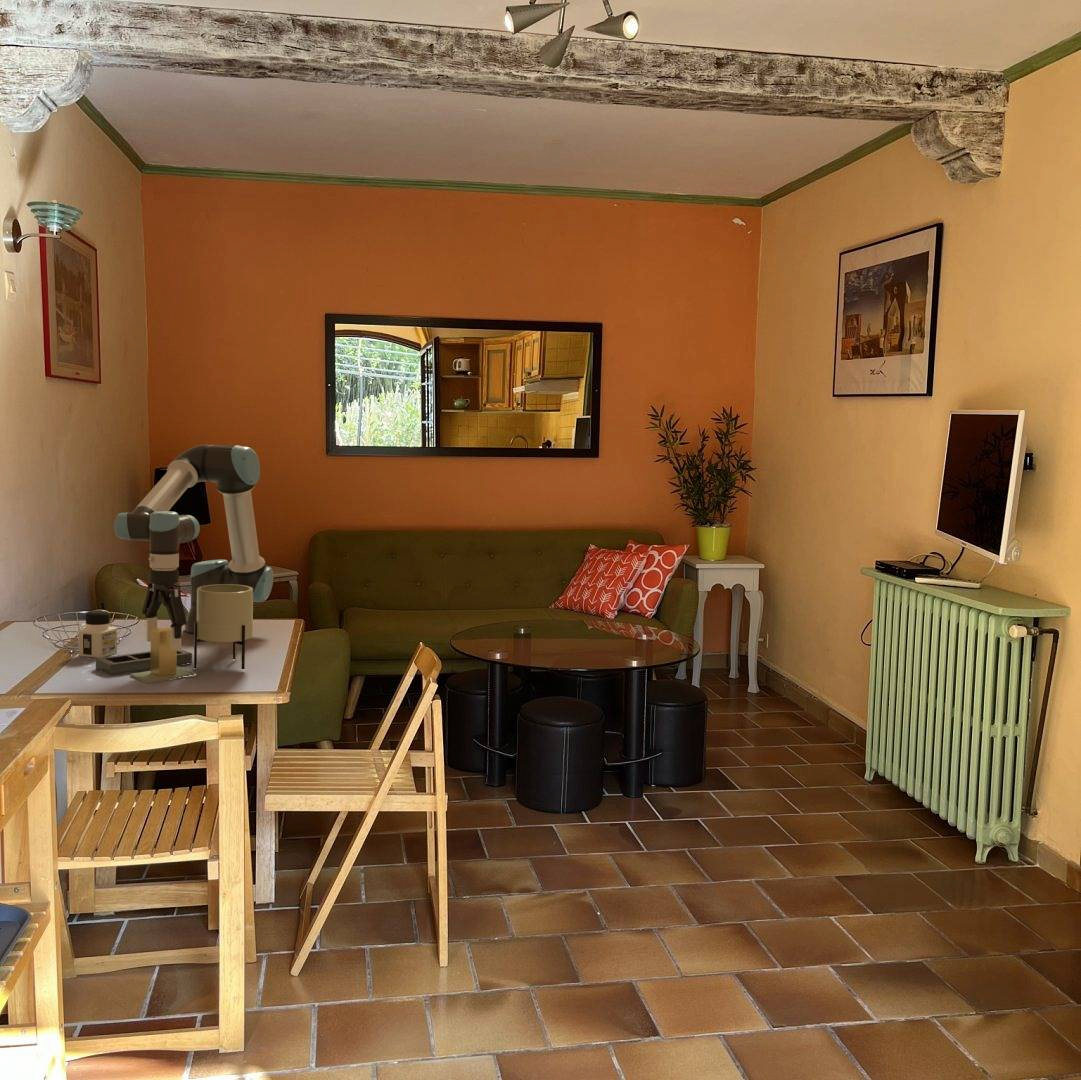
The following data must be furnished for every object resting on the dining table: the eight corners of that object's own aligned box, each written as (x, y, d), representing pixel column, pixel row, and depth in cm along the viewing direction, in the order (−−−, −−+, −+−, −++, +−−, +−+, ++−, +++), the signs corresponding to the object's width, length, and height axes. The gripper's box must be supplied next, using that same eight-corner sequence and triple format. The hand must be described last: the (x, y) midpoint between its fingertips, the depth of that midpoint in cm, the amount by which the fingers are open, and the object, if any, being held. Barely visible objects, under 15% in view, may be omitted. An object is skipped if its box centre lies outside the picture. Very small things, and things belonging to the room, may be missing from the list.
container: (101, 658, 306) (101, 614, 304) (78, 656, 307) (77, 612, 306) (117, 652, 313) (117, 609, 312) (94, 650, 315) (94, 607, 313)
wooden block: (167, 670, 293) (167, 626, 291) (176, 674, 290) (176, 629, 288) (150, 673, 289) (150, 628, 288) (159, 676, 286) (159, 631, 284)
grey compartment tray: (176, 657, 311) (176, 647, 310) (191, 663, 305) (191, 653, 304) (95, 669, 293) (95, 658, 293) (110, 675, 287) (110, 664, 287)
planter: (259, 662, 309) (261, 585, 307) (241, 675, 294) (242, 594, 291) (209, 659, 310) (209, 582, 308) (187, 672, 294) (188, 591, 292)
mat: (178, 668, 298) (178, 666, 298) (196, 675, 291) (196, 673, 291) (130, 675, 288) (130, 673, 288) (147, 683, 281) (147, 681, 281)
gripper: (129, 563, 292) (129, 638, 294) (173, 575, 275) (173, 655, 277) (155, 561, 297) (154, 635, 300) (200, 573, 280) (199, 651, 283)
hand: (163, 645), depth 288 cm, fingers open, 13 cm apart
